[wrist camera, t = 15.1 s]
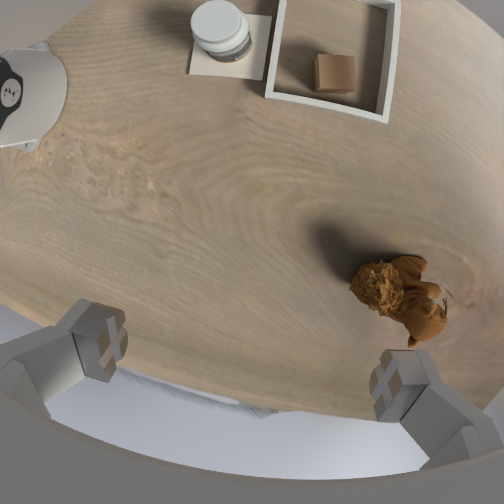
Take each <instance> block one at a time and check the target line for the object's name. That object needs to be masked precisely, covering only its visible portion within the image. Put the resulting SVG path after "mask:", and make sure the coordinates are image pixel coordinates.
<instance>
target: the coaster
mask: <svg viewBox="0 0 504 504" xmlns="http://www.w3.org/2000/svg"><path fill="white" fill-rule="evenodd" d="M244 15H245V16H246V17H247V19H248V22H249V26H250V31H251V34H252V41H253V43H252V47H251V50H250V52H249V53H248V54H247V56H245V57H244V58H243V59H241V60H240V61H237V62H234V63H221V62H218V61H216V60H214V59H213V58H211V57H210V56H209V55H208V54H207V53H206V52H205V51H204V50H203V49H202V48H200V47H199V46H198V45H197V43H196V42H195V41H194V47H193V53H192V59H191V65H190V72H189V75H198V76H216V77H229V78H240V79H249V80H257V81H262V80H263V73H264V67H265V60H266V54H267V47H268V41H269V34H270V28H271V22H272V16H264V15H253V14H244Z"/></svg>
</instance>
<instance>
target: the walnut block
mask: <svg viewBox="0 0 504 504" xmlns="http://www.w3.org/2000/svg"><path fill="white" fill-rule="evenodd" d="M313 79H314V92H322V93H341V94H347V93H350V92H352V91H355V90H356V77H355V59H354V56H343V55H330V54H318V55H317V56H316V58H315V59H314V61H313Z"/></svg>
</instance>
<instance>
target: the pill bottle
mask: <svg viewBox="0 0 504 504" xmlns="http://www.w3.org/2000/svg"><path fill="white" fill-rule="evenodd" d="M191 28H192V31H193V38H194V40H195V42H196V43H197V45H198V46H199V47H200V48H202V49H203V50H204V51H205V52H206V53H207V54H208V55H209V56H210V57H211V58H213V59H214V60H216V61H218V62H221V63H234V62H237V61H240V60H241V59H243V58H244V57H245V56H247V54H248V53H249V52H250V50H251V47H252V43H253V41H252V34H251V31H250V26H249V22H248V19H247V17H246V16H245V15H244V13H243V12H241V11H240V10H239V9H238V8H237V7H236V6H235V5H234V4H232V3H230V2H228V1H225V0H212V1H208V2H206V3H204V4H202V5H201V6H199V7H198V8H197V9H196V10H195V12H194V13H193V15H192V18H191Z"/></svg>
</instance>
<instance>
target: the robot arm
mask: <svg viewBox="0 0 504 504" xmlns="http://www.w3.org/2000/svg"><path fill="white" fill-rule="evenodd" d="M66 91H67V77H66V72H65V68H64V66H63V64H62V62H61V61H60V59H59V58H58V57H56V56H55V55H54V54H53V53H52V52H51V51H50V48H49V45H48V43H47V42H46V41H40V42H38V43H36V44H34V45H32V46H31V47H29V48H10V49H8V51H6V52H5V53H3V54H2V55H0V148H2V147H11V148H15V149H18V150H22V151H25V152H35V151H36V150H37V148H38V146H39V144H40V142H41V140H42V138H43V136H44V135H45V134H46V133H47V132H48V131H49V130H50V129H51V128H52V127H53V125H54V124H55V122H56V121H57V119H58V117H59V115H60V113H61V111H62V108H63V105H64V102H65V97H66ZM27 144H28V145H27ZM125 321H126V320H125V314H124V311H122V310H121V309H118V308H114V307H111V306H107V305H103V304H100V303H97V302H92V301H89V300H85V299H80V300H78V301H77V302H76V303H75V305H74V306H73V307H72V308H71V309H70V310H69V311H68V312H67V313H66V314H65V316H64V317H63V318H62V319H61V320H60V321H59V322H58V323H57V325H56V326H55V327H54V326H48V327H46V328H43V329H40V330H38V331H35V332H33V333H30V334H27V335H25V336H22V337H19V338H17V339H14V340H11V341H9V342H6V343H3V344H1V345H0V504H504V445H503V443H502V441H501V438H500V436H499V433H498V431H497V430H496V427H495V425H494V422H493V421H492V419H491V418H489V417H488V416H487V415H486V414H484V413H483V412H482V411H481V410H479V409H478V408H477V407H476V406H474V405H473V404H472V403H471V402H469V401H468V400H467V399H466V398H464V397H463V396H462V395H461V394H459V393H458V392H457V391H455V390H454V389H453V388H452V387H450V386H449V385H448V384H443V382H442V380H441V377H440V375H439V373H438V371H437V369H436V367H435V365H434V363H433V361H432V359H431V357H430V355H429V353H428V352H427V351H425V350H412V351H411V350H389V349H386V350H385V351H384V352H383V353H382V355H381V357H380V361H381V364H380V365H378V366H377V367H375V368H374V370H373V372H372V374H371V377H370V382H369V390H370V394H371V396H372V397H373V398H374V399H375V400H376V402H375V404H374V410H375V414H376V418H377V422H399V421H400V424H401V425H402V426H403V427H404V428H405V430H406V431H407V432H408V433H409V434H410V436H411V437H412V438H413V439H414V440H415V441H416V443H417V444H418V445H419V446H420V447H421V449H422V450H423V451H424V452H425V453H426V454H427V456H428V457H429V458H430V459H429V461H427V462H426V463H425V464H424V465H423V466H422V467H421V468H420V469H419V471H413V472H407V473H402V474H394V475H386V476H377V477H367V478H354V479H332V480H299V479H277V478H264V477H253V476H244V475H237V474H229V473H222V472H216V471H211V470H205V469H200V468H195V467H190V466H185V465H181V464H176V463H172V462H168V461H164V460H160V459H157V458H153V457H149V456H146V455H143V454H139V453H136V452H133V451H130V450H127V449H124V448H121V447H118V446H115V445H112V444H109V443H107V442H104V441H101V440H99V439H96V438H93V437H91V436H88V435H86V434H84V433H81V432H79V431H76V430H74V429H72V428H70V427H68V426H65V425H63V424H61V423H59V422H57V421H55V420H53V419H51V416H50V413H49V412H48V410H47V409H46V407H45V405H44V403H45V402H47V401H48V400H50V399H52V398H53V397H55V396H56V395H58V394H60V393H61V392H63V391H64V390H66V389H67V388H69V387H71V386H72V385H74V384H75V383H77V382H79V381H80V380H82V379H83V378H85V376H87V377H90V378H93V379H96V380H99V381H103V382H106V383H109V381H110V379H111V378H112V376H113V374H114V372H115V370H116V364H115V362H117V361H119V360H121V359H122V358H123V356H124V354H125V352H126V348H127V344H128V335H127V331H126V330H125V328H124V327H123V326H122V325H123V324H124V322H125Z"/></svg>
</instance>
